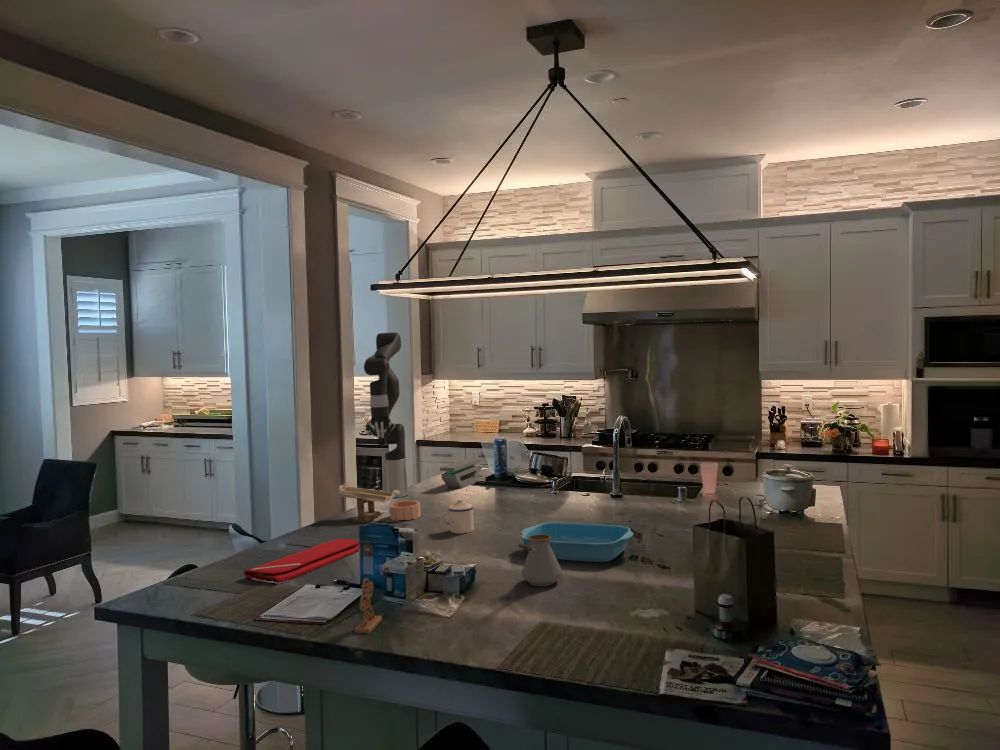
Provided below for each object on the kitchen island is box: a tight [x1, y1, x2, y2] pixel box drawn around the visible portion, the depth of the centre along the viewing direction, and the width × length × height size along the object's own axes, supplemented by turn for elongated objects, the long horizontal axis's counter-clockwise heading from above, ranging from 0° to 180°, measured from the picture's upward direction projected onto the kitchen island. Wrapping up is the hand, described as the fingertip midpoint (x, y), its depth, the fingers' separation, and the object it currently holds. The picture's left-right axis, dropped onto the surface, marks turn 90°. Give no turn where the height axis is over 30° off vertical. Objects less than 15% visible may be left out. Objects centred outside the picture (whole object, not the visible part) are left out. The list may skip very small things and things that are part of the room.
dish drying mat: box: [243, 538, 360, 583], centre depth 244 cm, size 16×41×4 cm, turn 150°
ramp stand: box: [352, 497, 381, 523], centre depth 302 cm, size 14×6×10 cm, turn 169°
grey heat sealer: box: [439, 457, 481, 489], centre depth 358 cm, size 25×8×11 cm, turn 153°
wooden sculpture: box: [354, 577, 383, 634], centre depth 186 cm, size 9×4×12 cm, turn 168°
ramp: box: [337, 482, 400, 504], centre depth 307 cm, size 18×20×4 cm
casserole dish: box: [520, 521, 634, 563], centre depth 237 cm, size 37×22×7 cm, turn 63°
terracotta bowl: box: [388, 500, 422, 521], centre depth 299 cm, size 12×12×6 cm
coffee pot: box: [514, 534, 563, 587], centre depth 206 cm, size 21×12×15 cm, turn 156°
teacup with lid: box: [440, 498, 475, 535], centre depth 273 cm, size 12×9×12 cm
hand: (382, 446), depth 315 cm, fingers closed
